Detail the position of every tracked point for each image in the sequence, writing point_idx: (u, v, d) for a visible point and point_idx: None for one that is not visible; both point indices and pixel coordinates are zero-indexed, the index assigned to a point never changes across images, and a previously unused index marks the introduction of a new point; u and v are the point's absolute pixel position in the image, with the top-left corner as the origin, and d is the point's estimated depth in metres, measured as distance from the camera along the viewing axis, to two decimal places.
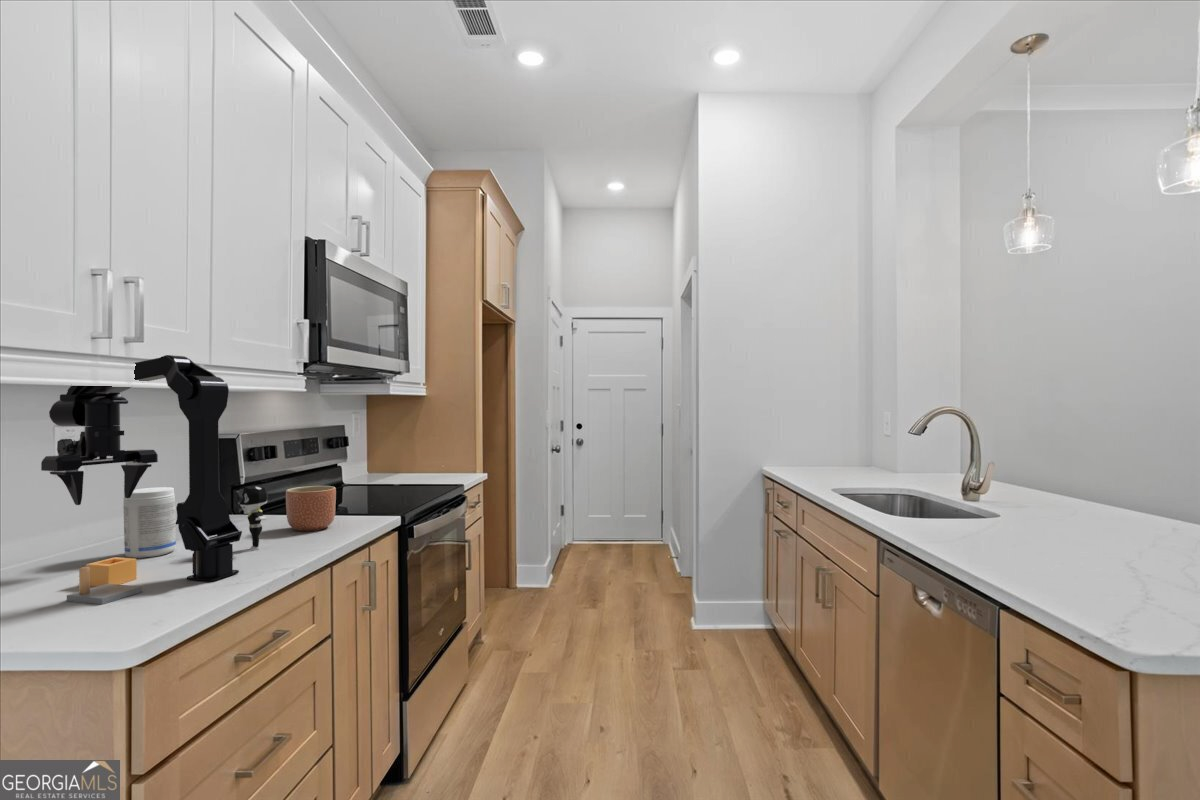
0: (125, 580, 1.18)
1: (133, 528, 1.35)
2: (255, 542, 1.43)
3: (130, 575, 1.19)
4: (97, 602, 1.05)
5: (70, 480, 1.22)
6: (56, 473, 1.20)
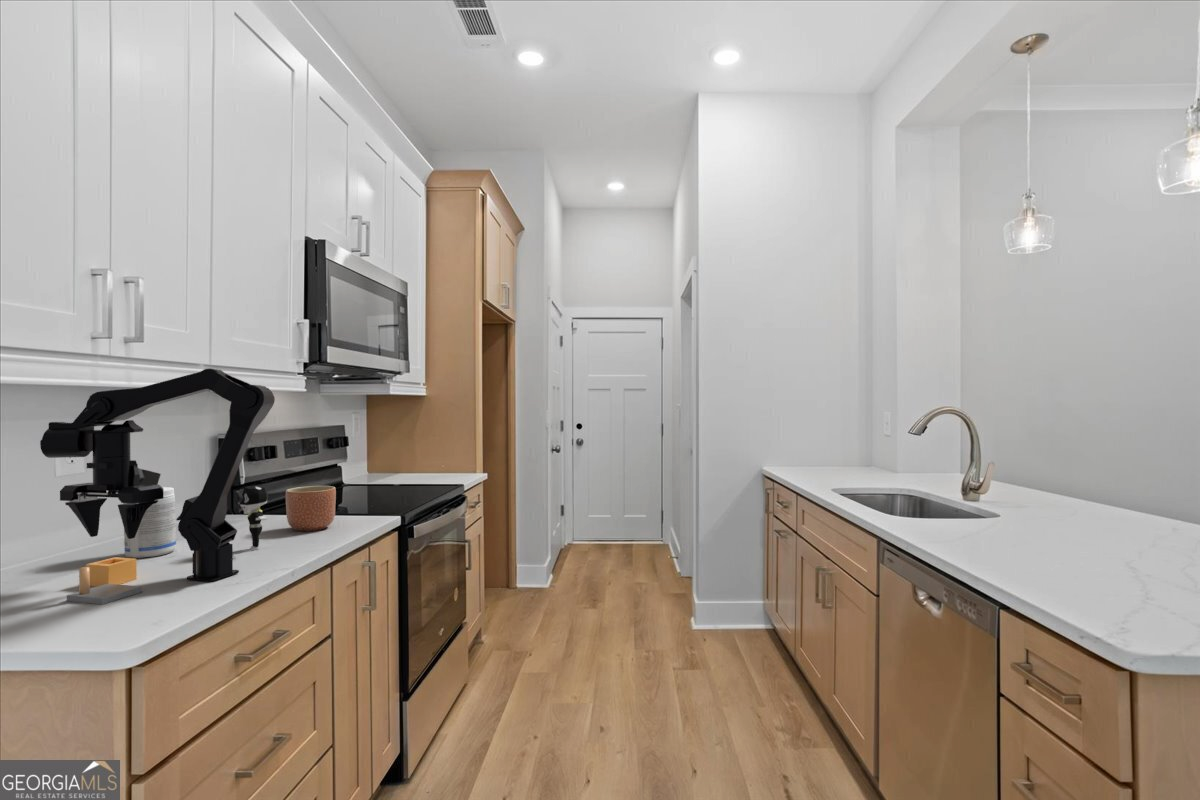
0: (125, 580, 1.18)
1: None
2: (255, 542, 1.43)
3: (130, 575, 1.19)
4: (97, 602, 1.05)
5: None
6: None
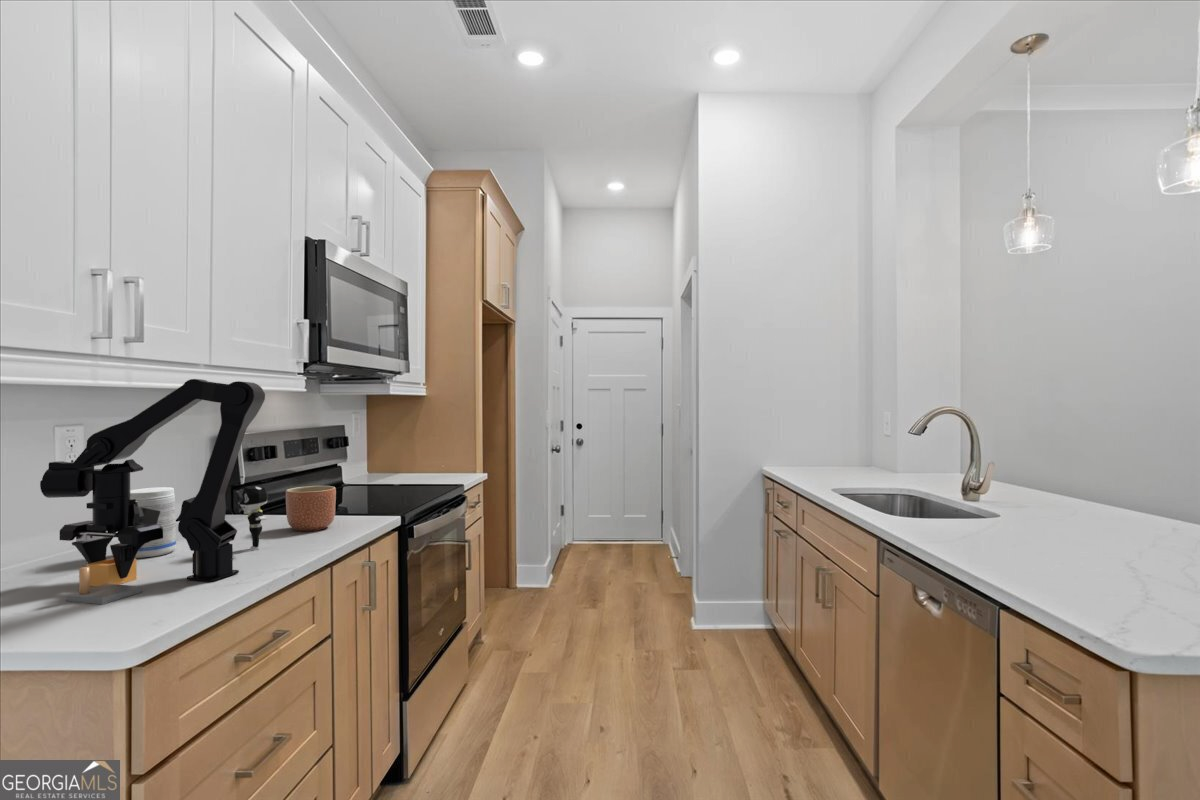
0: (125, 580, 1.18)
1: None
2: (255, 542, 1.43)
3: (130, 575, 1.19)
4: (97, 602, 1.05)
5: None
6: None
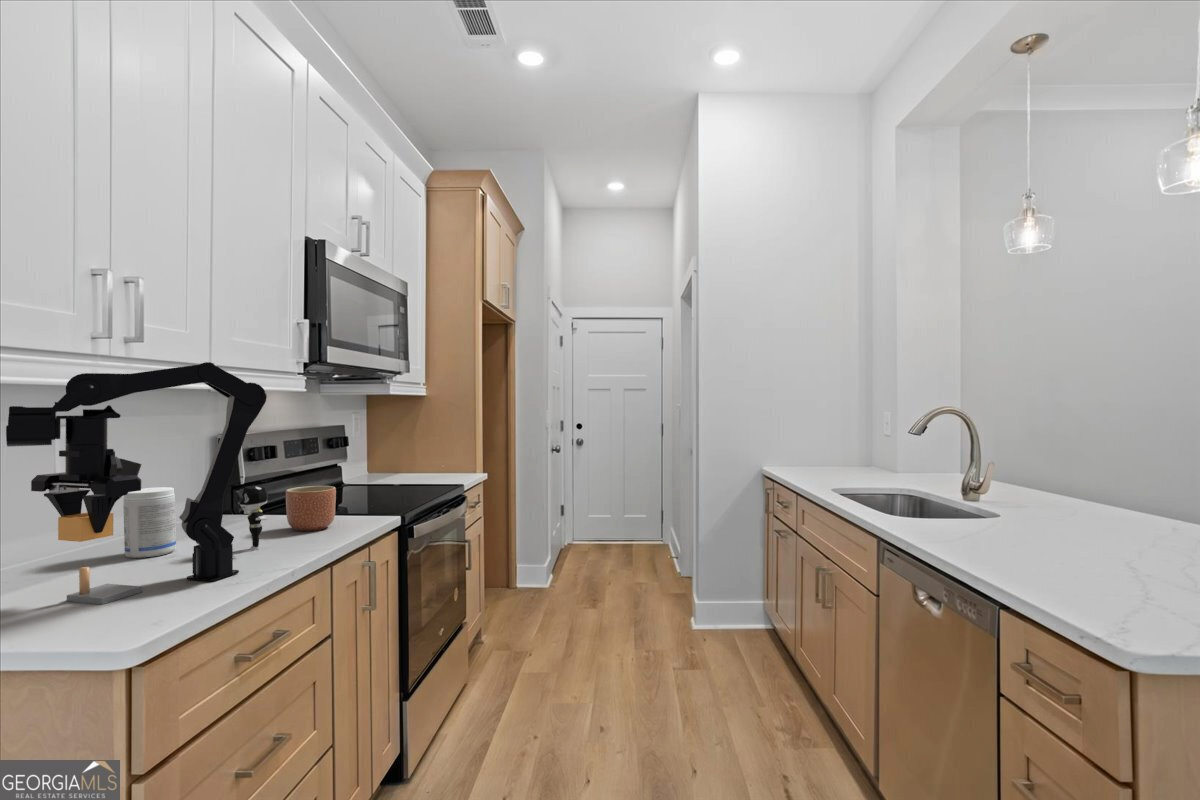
0: (100, 535, 1.09)
1: (133, 528, 1.35)
2: (255, 542, 1.43)
3: (106, 530, 1.10)
4: (97, 602, 1.05)
5: None
6: None
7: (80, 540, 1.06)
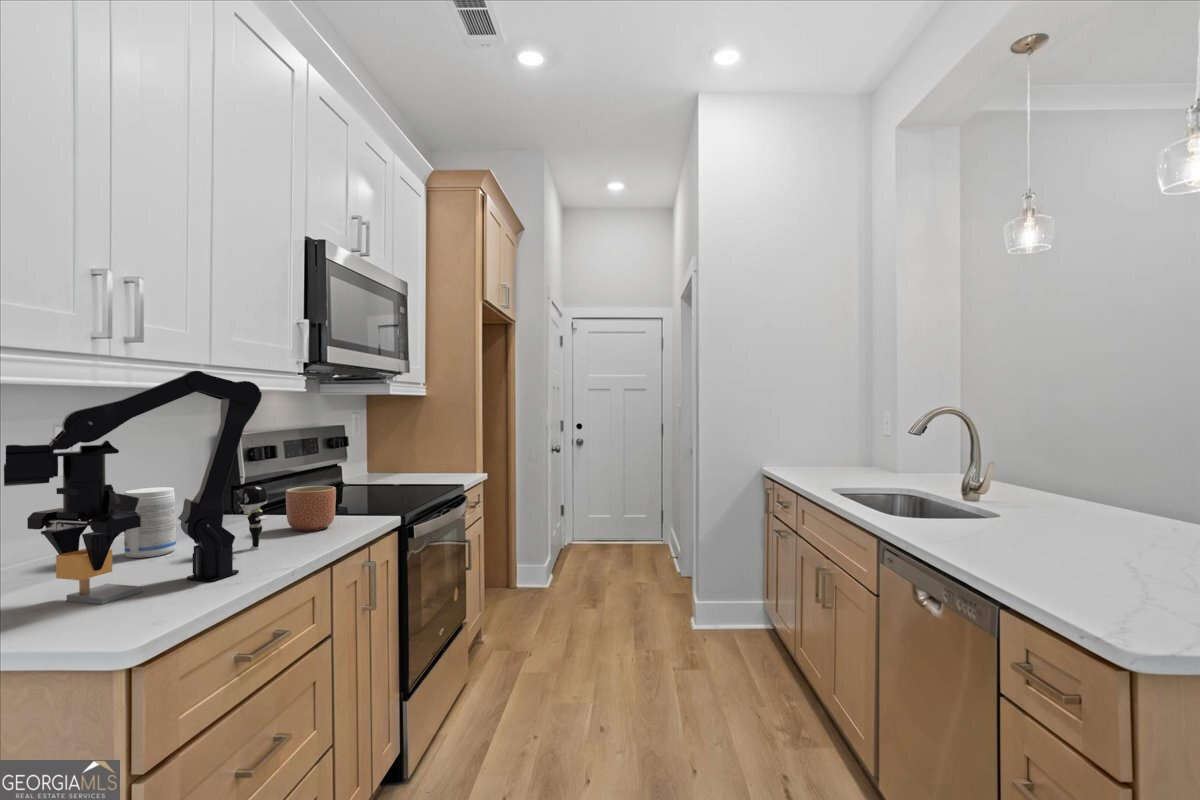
0: (99, 573, 1.08)
1: (133, 528, 1.35)
2: (255, 542, 1.43)
3: (105, 567, 1.09)
4: (97, 602, 1.05)
5: None
6: None
7: (79, 578, 1.05)
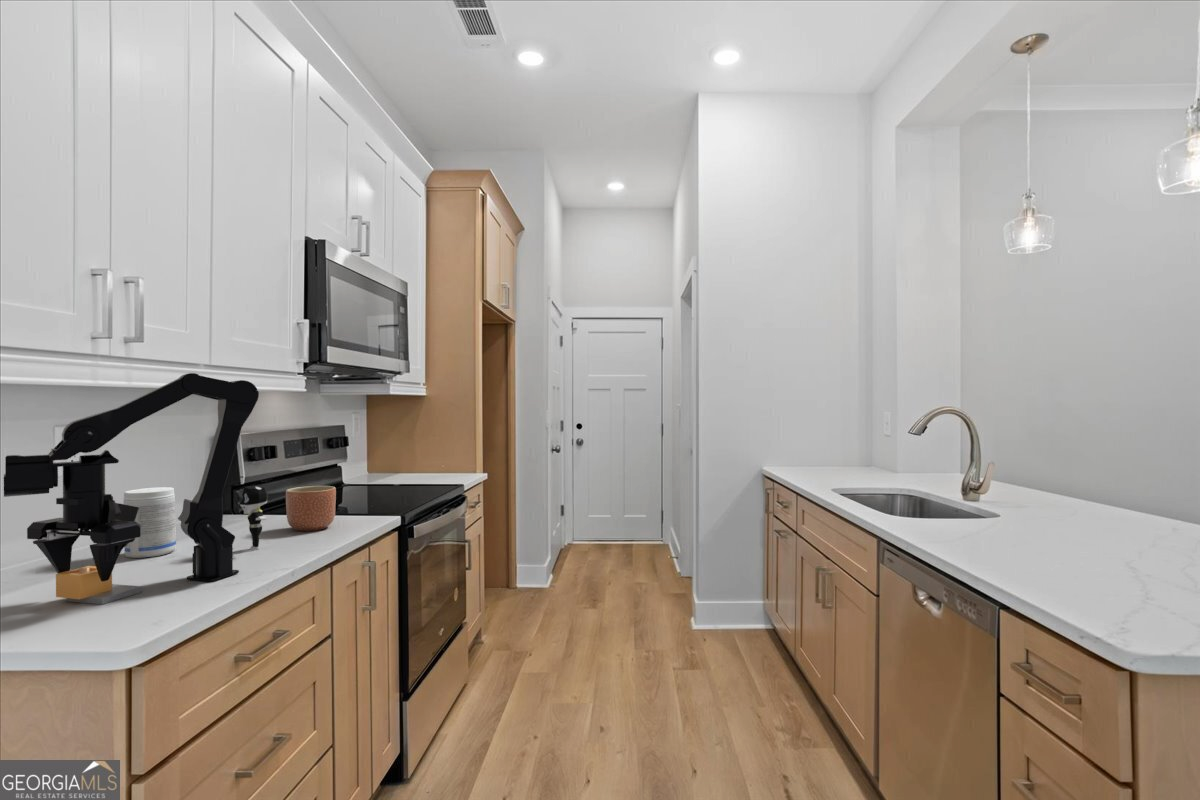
0: (99, 591, 1.08)
1: None
2: (255, 542, 1.43)
3: (105, 585, 1.08)
4: (97, 602, 1.05)
5: None
6: None
7: (79, 597, 1.04)
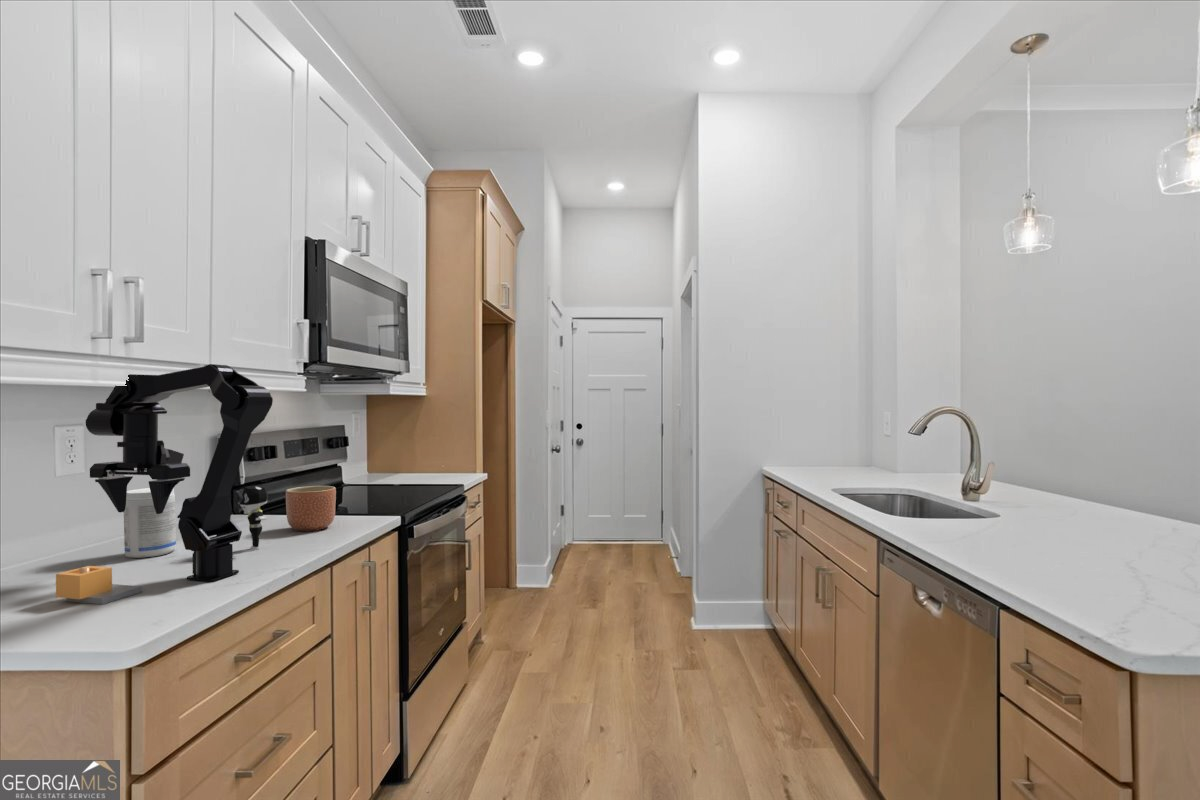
0: (99, 591, 1.08)
1: (133, 528, 1.35)
2: (255, 542, 1.43)
3: (105, 585, 1.08)
4: (97, 602, 1.05)
5: None
6: None
7: (79, 597, 1.04)
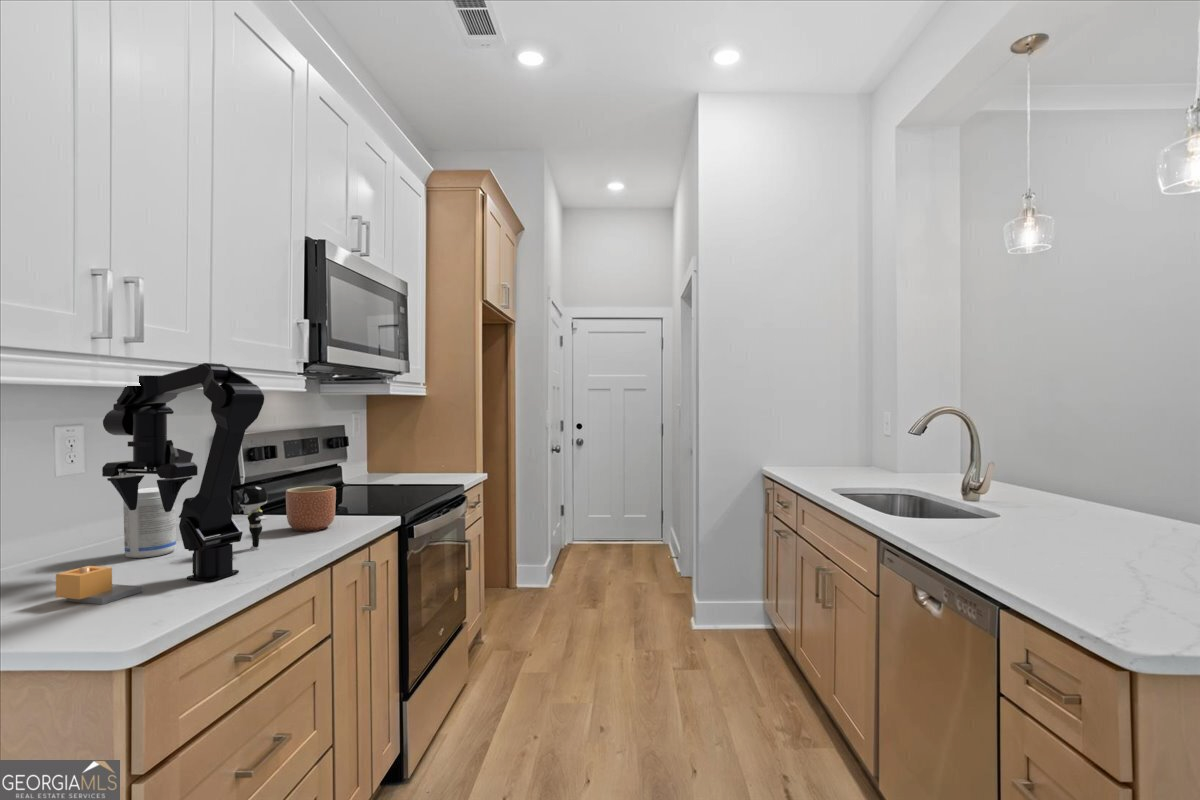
0: (99, 591, 1.08)
1: (133, 528, 1.35)
2: (255, 542, 1.43)
3: (105, 585, 1.08)
4: (97, 602, 1.05)
5: None
6: None
7: (79, 597, 1.04)
